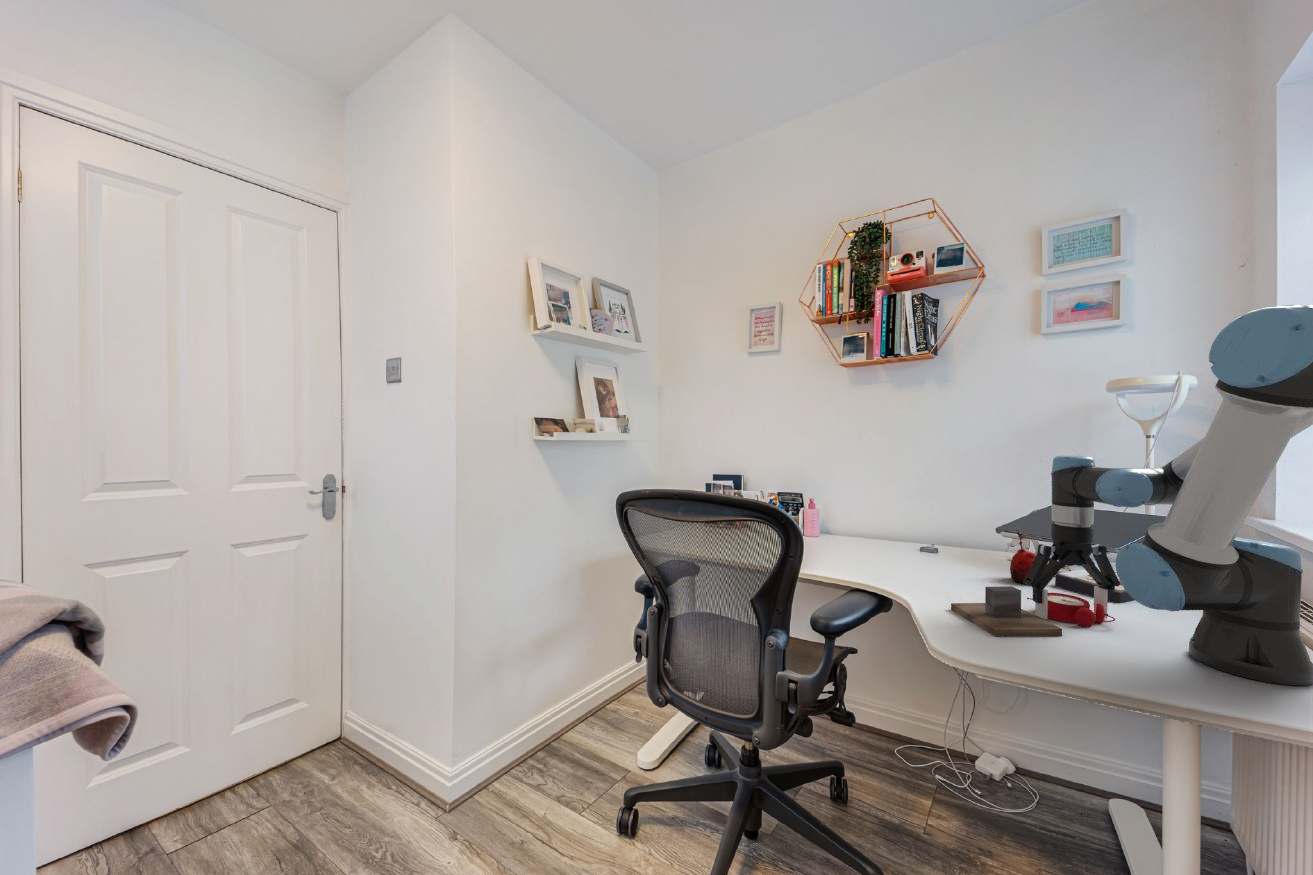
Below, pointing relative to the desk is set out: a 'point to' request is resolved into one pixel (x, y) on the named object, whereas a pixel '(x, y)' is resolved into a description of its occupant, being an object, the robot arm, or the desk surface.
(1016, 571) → the red clay folk toy
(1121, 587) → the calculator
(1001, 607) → the stand
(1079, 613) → the alarm clock
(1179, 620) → the desk surface
